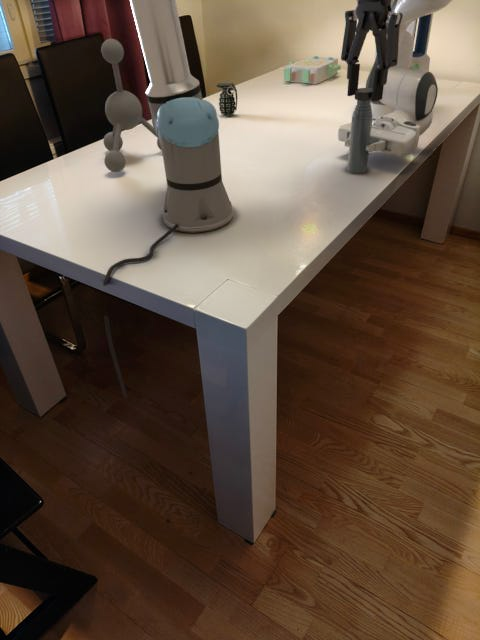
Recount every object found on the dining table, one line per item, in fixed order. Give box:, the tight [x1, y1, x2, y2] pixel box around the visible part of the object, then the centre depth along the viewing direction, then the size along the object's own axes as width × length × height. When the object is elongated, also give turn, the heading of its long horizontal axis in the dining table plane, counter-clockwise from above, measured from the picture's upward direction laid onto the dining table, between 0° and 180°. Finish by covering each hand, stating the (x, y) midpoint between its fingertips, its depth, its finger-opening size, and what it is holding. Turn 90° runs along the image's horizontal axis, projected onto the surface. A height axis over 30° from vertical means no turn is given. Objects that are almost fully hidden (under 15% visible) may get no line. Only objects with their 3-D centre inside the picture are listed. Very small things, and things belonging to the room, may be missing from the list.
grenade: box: [215, 82, 238, 117], centre depth 166 cm, size 7×6×10 cm
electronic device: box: [406, 13, 434, 72], centre depth 173 cm, size 12×8×30 cm, turn 105°
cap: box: [354, 87, 373, 101], centre depth 114 cm, size 4×4×2 cm
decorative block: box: [283, 55, 342, 85], centre depth 206 cm, size 26×6×20 cm
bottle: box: [347, 100, 374, 175], centre depth 119 cm, size 5×5×18 cm
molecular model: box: [100, 38, 162, 173], centre depth 130 cm, size 24×22×30 cm
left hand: (364, 97), depth 114 cm, fingers open, 7 cm apart
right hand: (357, 146), depth 120 cm, fingers closed on bottle, 5 cm apart
